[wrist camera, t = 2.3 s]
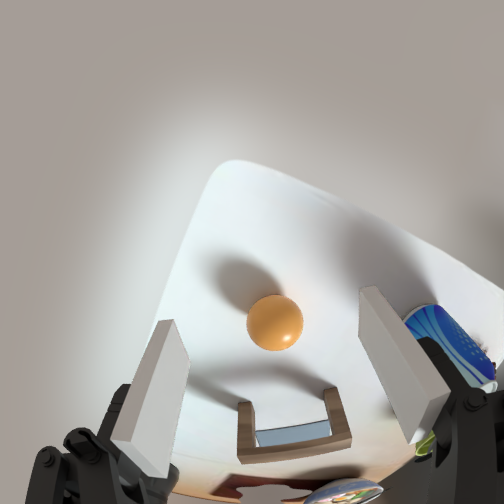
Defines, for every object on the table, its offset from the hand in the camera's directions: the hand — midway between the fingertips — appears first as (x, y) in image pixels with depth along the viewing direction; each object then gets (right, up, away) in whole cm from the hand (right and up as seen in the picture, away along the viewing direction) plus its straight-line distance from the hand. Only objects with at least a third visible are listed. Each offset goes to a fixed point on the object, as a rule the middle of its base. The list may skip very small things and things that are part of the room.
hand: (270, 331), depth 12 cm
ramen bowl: (+23, -60, +42) cm, 77 cm away
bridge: (+5, -19, +26) cm, 33 cm away
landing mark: (+7, -32, +31) cm, 45 cm away
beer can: (+23, -7, +22) cm, 32 cm away
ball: (+2, -4, +17) cm, 17 cm away
